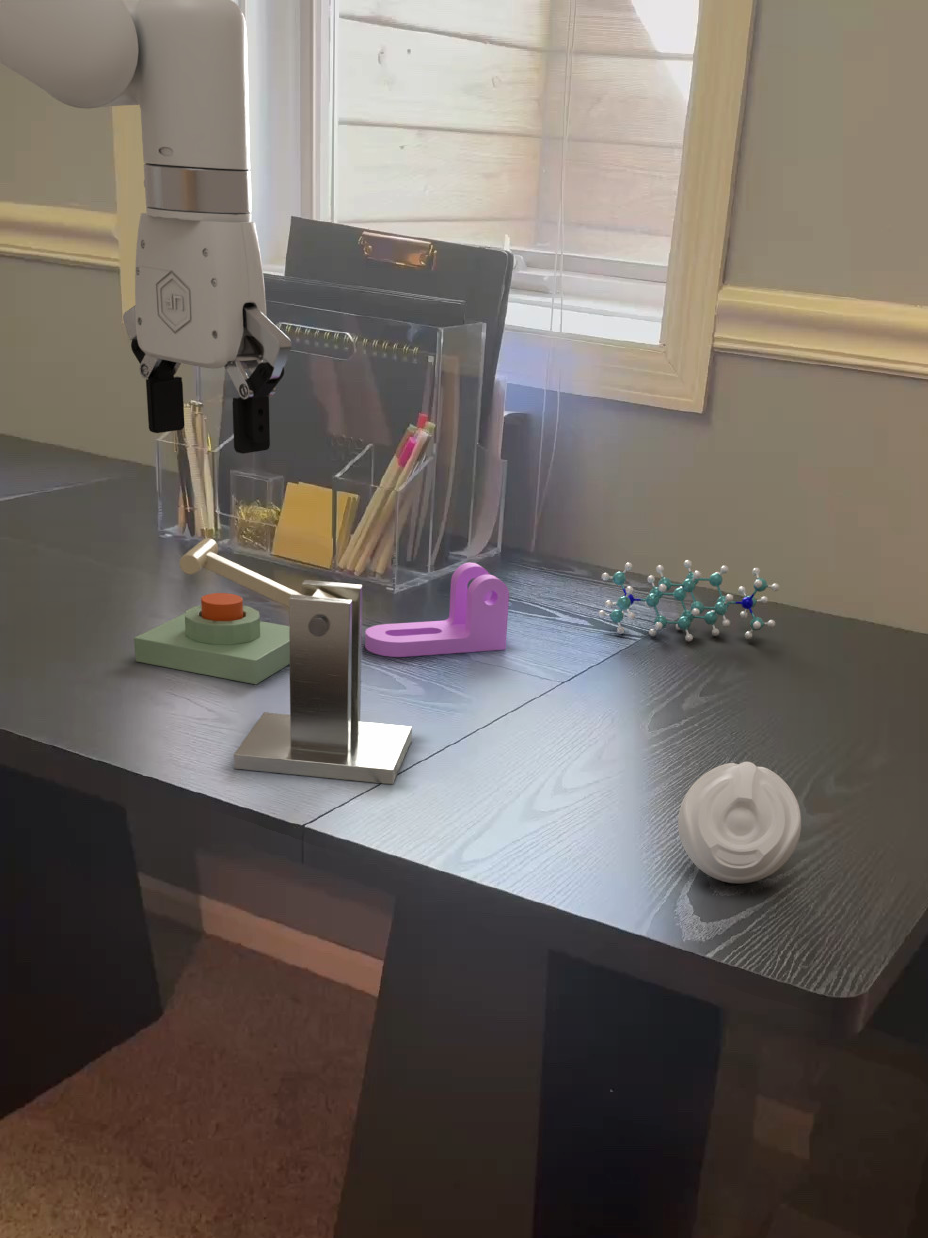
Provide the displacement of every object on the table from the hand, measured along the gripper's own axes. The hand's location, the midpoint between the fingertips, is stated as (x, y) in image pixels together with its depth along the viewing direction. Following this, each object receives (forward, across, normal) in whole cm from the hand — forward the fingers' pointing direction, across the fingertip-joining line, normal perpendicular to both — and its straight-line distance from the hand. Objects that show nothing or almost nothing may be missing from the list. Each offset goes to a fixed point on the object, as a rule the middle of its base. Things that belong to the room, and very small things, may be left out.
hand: (208, 440), depth 108 cm
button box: (+20, -5, +6) cm, 22 cm away
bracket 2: (+21, +5, +22) cm, 31 cm away
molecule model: (+21, +20, +44) cm, 53 cm away
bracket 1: (+20, +17, -4) cm, 27 cm away
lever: (+9, +13, -7) cm, 17 cm away
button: (+17, -5, +6) cm, 18 cm away
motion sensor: (+21, +50, 0) cm, 54 cm away
